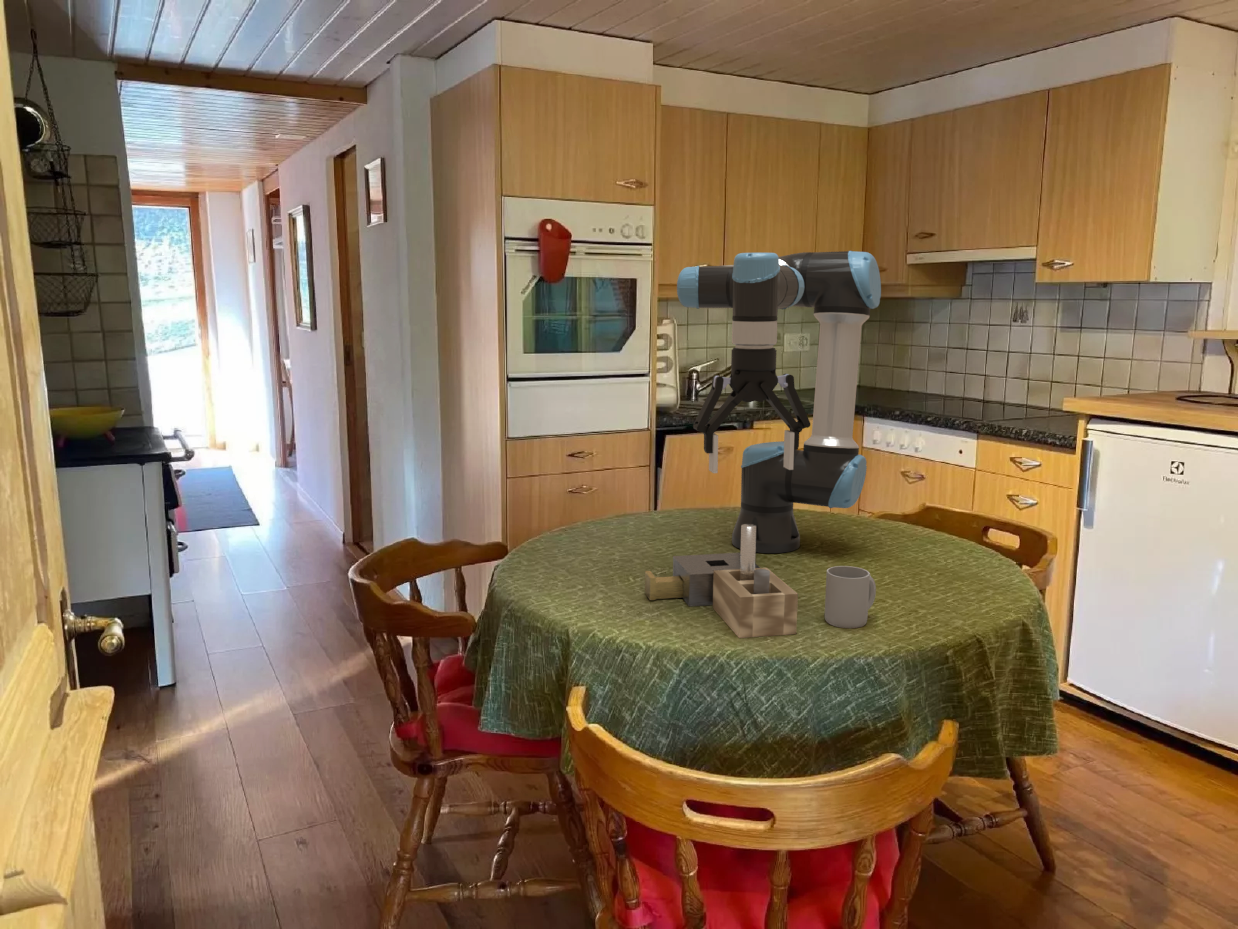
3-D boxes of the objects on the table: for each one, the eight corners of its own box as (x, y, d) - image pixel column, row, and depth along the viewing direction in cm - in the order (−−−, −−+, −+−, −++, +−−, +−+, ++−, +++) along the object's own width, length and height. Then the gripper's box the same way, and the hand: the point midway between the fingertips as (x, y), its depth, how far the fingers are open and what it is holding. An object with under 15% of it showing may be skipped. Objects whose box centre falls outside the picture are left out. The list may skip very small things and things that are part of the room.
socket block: (741, 581, 182) (742, 552, 181) (762, 601, 170) (763, 570, 169) (672, 585, 179) (673, 556, 178) (689, 606, 168) (689, 574, 166)
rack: (765, 604, 169) (767, 551, 167) (796, 633, 154) (798, 576, 152) (712, 607, 167) (713, 554, 165) (739, 637, 152) (740, 579, 151)
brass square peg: (696, 590, 176) (696, 568, 175) (702, 597, 172) (703, 575, 171) (644, 593, 174) (645, 571, 173) (650, 600, 170) (650, 578, 169)
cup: (815, 618, 162) (817, 569, 160) (858, 609, 166) (861, 561, 165) (844, 631, 155) (846, 580, 154) (888, 621, 160) (890, 572, 158)
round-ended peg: (750, 610, 166) (753, 523, 163) (755, 615, 163) (758, 527, 160) (736, 611, 165) (739, 524, 162) (741, 616, 163) (744, 528, 160)
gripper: (815, 343, 161) (810, 462, 166) (676, 346, 157) (675, 468, 161) (832, 346, 154) (827, 471, 158) (688, 349, 149) (686, 477, 154)
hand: (751, 470), depth 160 cm, fingers open, 13 cm apart
